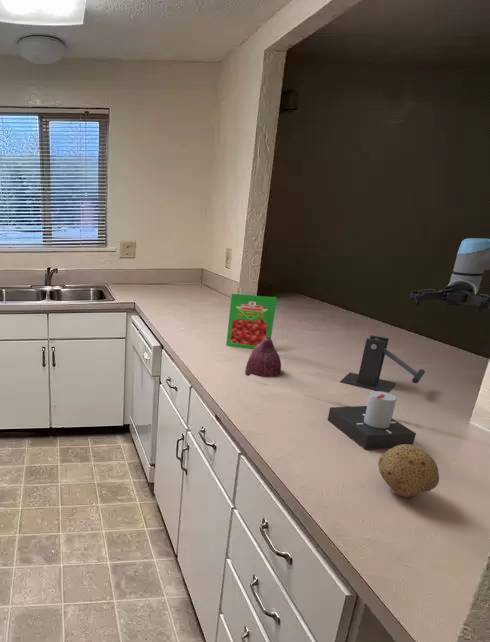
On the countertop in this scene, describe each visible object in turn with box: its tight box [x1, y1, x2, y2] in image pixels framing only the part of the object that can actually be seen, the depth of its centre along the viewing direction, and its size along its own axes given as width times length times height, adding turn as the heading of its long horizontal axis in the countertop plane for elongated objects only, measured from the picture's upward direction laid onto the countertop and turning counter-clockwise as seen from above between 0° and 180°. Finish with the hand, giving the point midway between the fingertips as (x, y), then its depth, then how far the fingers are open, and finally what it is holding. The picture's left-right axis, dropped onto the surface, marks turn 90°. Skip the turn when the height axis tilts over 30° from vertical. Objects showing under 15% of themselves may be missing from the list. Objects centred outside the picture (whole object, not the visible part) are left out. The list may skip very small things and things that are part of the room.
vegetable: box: [244, 336, 282, 378], centre depth 134 cm, size 10×10×15 cm
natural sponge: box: [377, 444, 440, 498], centre depth 79 cm, size 9×9×10 cm
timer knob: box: [364, 390, 398, 429], centre depth 98 cm, size 5×5×7 cm
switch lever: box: [375, 338, 426, 384], centre depth 121 cm, size 15×9×2 cm, turn 45°
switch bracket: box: [339, 334, 396, 393], centre depth 125 cm, size 12×10×15 cm
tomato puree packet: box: [225, 293, 278, 350], centre depth 159 cm, size 15×1×20 cm, turn 61°
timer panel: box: [327, 405, 417, 450], centre depth 102 cm, size 14×11×4 cm
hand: (448, 303), depth 120 cm, fingers open, 13 cm apart
